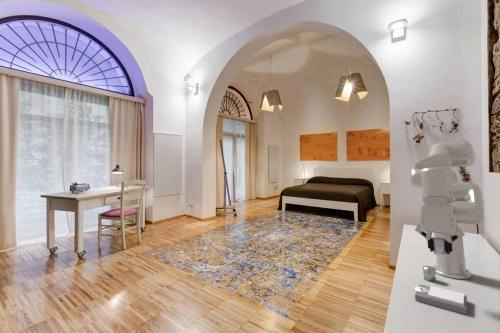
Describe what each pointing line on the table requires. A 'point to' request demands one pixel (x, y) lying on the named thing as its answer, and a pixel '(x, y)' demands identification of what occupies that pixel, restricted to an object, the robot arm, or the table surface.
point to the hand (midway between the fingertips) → (440, 251)
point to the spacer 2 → (439, 245)
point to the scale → (442, 298)
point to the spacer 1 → (429, 273)
